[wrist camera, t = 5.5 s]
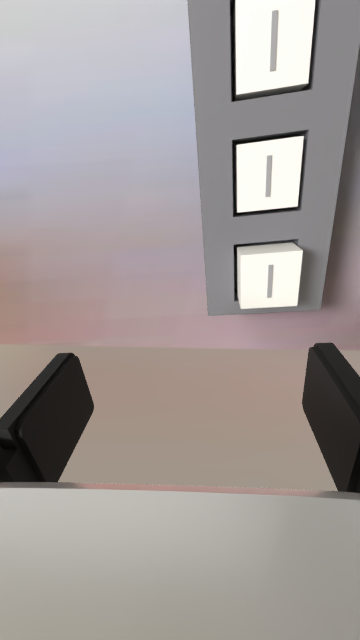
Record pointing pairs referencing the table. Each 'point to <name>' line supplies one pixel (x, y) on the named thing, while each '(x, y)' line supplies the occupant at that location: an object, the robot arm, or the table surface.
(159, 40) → the table surface
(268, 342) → the table surface
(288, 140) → the middle button
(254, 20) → the button
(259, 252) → the button
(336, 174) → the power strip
